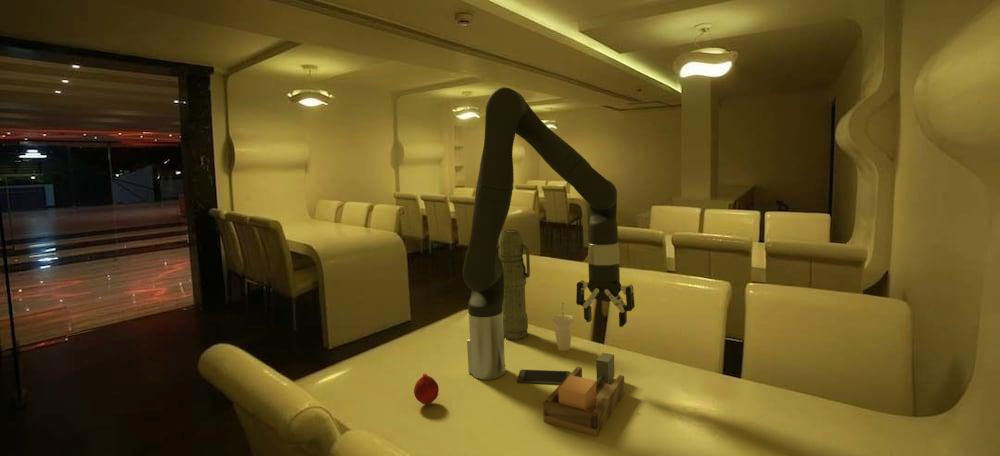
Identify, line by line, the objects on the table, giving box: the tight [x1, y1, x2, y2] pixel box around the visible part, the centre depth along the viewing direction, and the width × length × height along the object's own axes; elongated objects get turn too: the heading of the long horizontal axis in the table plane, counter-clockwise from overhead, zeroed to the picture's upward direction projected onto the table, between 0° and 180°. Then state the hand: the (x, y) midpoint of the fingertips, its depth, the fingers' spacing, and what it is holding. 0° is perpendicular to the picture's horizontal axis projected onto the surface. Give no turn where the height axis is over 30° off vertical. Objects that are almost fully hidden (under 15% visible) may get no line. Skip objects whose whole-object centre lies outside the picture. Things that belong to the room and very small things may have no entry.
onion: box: [413, 372, 440, 406], centre depth 109 cm, size 6×6×8 cm
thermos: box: [496, 229, 531, 341], centre depth 150 cm, size 9×12×35 cm
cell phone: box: [516, 369, 572, 386], centre depth 121 cm, size 7×14×1 cm, turn 80°
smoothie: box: [552, 302, 575, 352], centre depth 139 cm, size 6×6×14 cm
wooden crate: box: [542, 366, 625, 437], centre depth 105 cm, size 20×12×4 cm, turn 149°
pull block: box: [558, 352, 615, 412], centre depth 109 cm, size 25×6×7 cm, turn 149°
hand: (605, 323), depth 115 cm, fingers open, 8 cm apart
